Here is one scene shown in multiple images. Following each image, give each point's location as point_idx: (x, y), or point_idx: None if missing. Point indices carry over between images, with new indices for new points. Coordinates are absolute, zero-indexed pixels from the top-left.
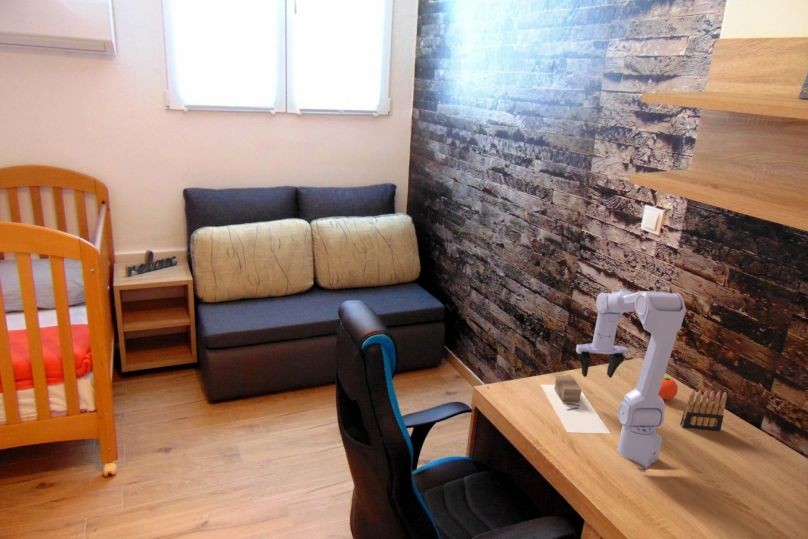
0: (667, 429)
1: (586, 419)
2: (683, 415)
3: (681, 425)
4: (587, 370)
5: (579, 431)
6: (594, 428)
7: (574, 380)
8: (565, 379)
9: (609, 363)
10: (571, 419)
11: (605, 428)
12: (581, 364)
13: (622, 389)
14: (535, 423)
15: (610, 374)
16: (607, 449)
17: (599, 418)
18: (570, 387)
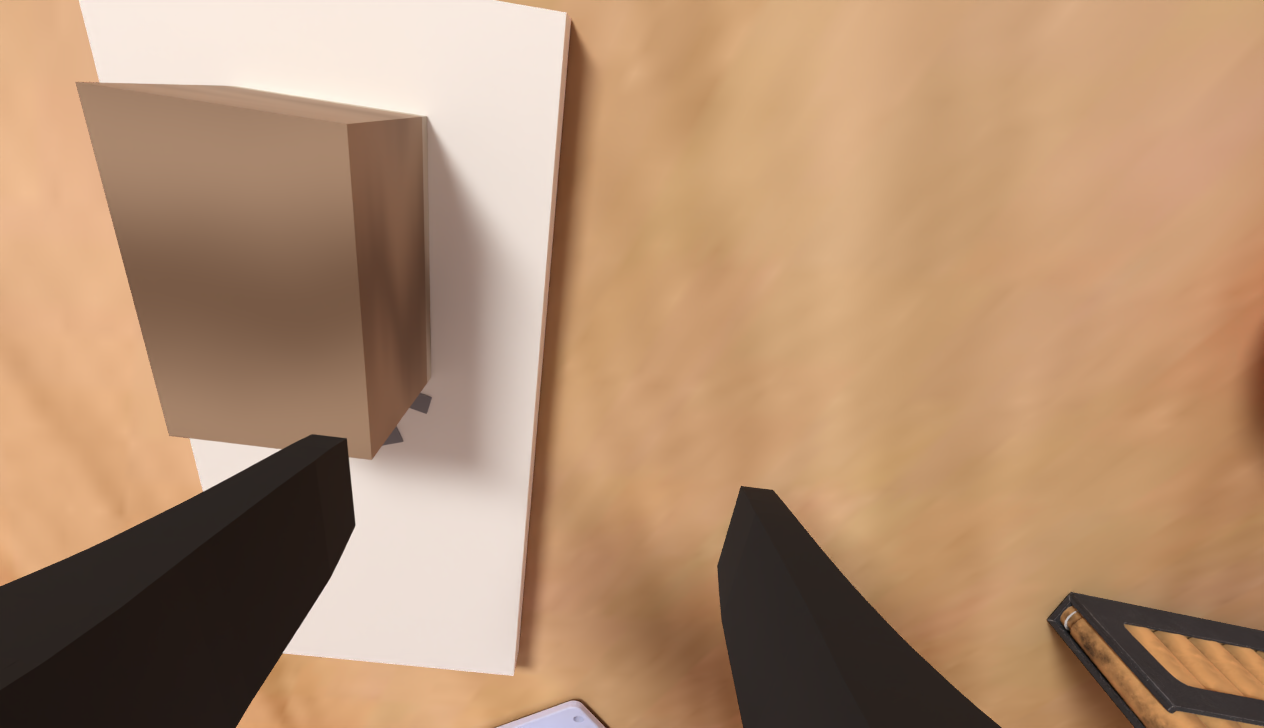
0: (932, 623)
1: (414, 560)
2: (1125, 661)
3: (1061, 609)
4: (277, 647)
5: (323, 648)
6: (432, 634)
7: (344, 248)
8: (213, 208)
9: (810, 654)
10: None
11: (505, 640)
12: (152, 529)
13: (1111, 70)
14: (63, 511)
15: (725, 617)
16: (458, 715)
17: (517, 556)
18: (246, 407)
